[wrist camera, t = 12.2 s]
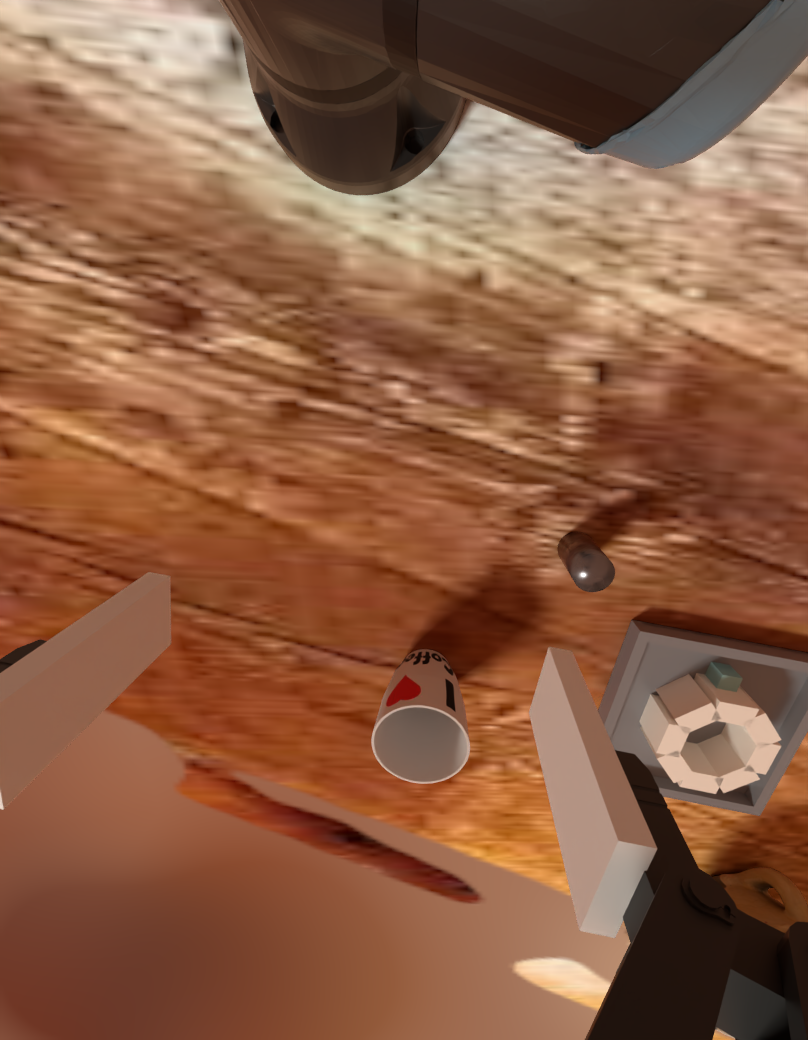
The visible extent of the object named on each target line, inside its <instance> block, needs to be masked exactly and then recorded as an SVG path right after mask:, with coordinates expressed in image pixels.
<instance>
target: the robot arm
mask: <svg viewBox="0 0 808 1040" xmlns="http://www.w3.org/2000/svg"><path fill="white" fill-rule="evenodd" d="M219 1H220V3H221V5H222V6H223V8H224V9H225V11H226V13H227V14H228V16H229V17H230V19H231V21H232V22H233V24H234V25H235V27H236V28H237V30H238V32H239V33H240V35H241V36H242V39H243V44H244V50H245V56H246V62H247V68H248V74H249V78H250V83H251V87H252V90H253V94H254V96H255V99H256V102H257V105H258V107H259V110H260V112H261V114H262V117H263V119H264V121H265V123H266V125H267V126H268V128H269V130H270V132H271V133H272V135H273V136H274V138H275V139H276V141H277V142H278V143H279V145H280V146H281V147H282V149H283V150H284V151H285V153H286V154H287V155H288V157H289V158H290V159H291V160H292V161H293V162H294V164H295V165H296V166H297V167H298V168H299V169H300V170H301V171H303V172H304V173H305V174H306V175H307V176H309V177H310V178H312V179H313V180H314V181H316V182H318V183H319V184H321V185H323V186H325V187H327V188H330V189H332V190H335V191H338V192H342V193H346V194H353V195H373V194H379V193H383V192H387V191H390V190H393V189H395V188H398V187H400V186H402V185H404V184H406V183H408V182H409V181H411V180H412V179H414V178H415V177H417V176H418V175H419V174H420V173H422V172H423V171H424V170H425V169H426V168H427V167H428V166H429V165H430V164H431V163H432V162H433V161H434V160H435V159H436V158H437V156H438V155H439V154H440V153H441V151H442V150H443V149H444V147H445V146H446V144H447V142H448V141H449V139H450V138H451V136H452V134H453V132H454V130H455V128H456V126H457V124H458V121H459V119H460V116H461V114H462V111H463V108H464V104H465V101H466V98H467V99H470V100H472V101H475V102H477V103H480V104H482V105H485V106H487V107H490V108H492V109H495V110H497V111H500V112H502V113H505V114H507V115H510V116H512V117H514V118H517V119H519V120H522V121H524V122H527V123H529V124H532V125H534V126H537V127H539V128H542V129H544V130H547V131H549V132H552V133H554V134H557V135H559V136H562V137H564V138H567V139H569V140H572V141H574V143H575V147H576V148H577V149H578V150H579V151H581V152H583V153H585V154H607V155H610V156H613V157H616V158H619V159H622V160H625V161H628V162H631V163H634V164H637V165H639V166H642V167H646V168H655V169H659V168H664V167H667V166H670V165H674V164H678V163H684V162H686V161H688V160H691V159H693V158H695V157H696V156H698V155H700V154H701V153H703V152H705V151H706V150H708V149H709V148H711V147H712V146H714V145H715V144H716V143H718V142H719V141H720V140H722V139H723V138H724V137H726V136H727V135H728V134H729V133H731V132H732V131H733V130H734V129H735V128H737V127H738V126H739V125H740V124H741V123H742V122H743V121H744V120H746V119H747V118H748V117H749V116H750V115H751V114H752V113H753V112H754V111H755V110H756V109H757V108H758V107H759V106H760V105H761V104H762V103H763V102H765V101H766V100H767V99H768V98H769V97H770V96H771V95H772V94H773V93H774V91H775V90H776V89H777V88H778V87H779V86H780V85H781V84H782V83H783V82H784V81H785V80H786V79H787V78H788V77H789V76H790V75H791V74H792V72H793V71H794V70H795V69H796V68H797V67H798V66H799V65H800V64H801V63H802V61H803V60H804V59H805V58H806V57H807V56H808V0H219ZM170 644H171V603H170V576H166V575H161V574H156V573H150V572H148V573H147V574H145V575H144V576H142V577H141V578H140V579H138V580H137V581H135V582H134V583H132V584H131V585H129V586H128V587H126V588H125V589H123V590H122V591H120V592H119V593H117V594H116V595H114V596H113V597H112V598H110V599H109V600H107V601H106V602H104V603H103V604H101V605H100V606H98V607H97V608H95V609H94V610H92V611H91V612H89V613H88V614H87V615H85V616H84V617H82V618H81V619H79V620H78V621H76V622H75V623H73V624H72V625H70V626H69V627H67V628H66V629H64V630H63V631H62V632H60V633H59V634H57V635H56V636H54V637H53V638H51V639H50V640H48V641H44V640H37V641H35V642H32V643H30V644H27V645H25V646H22V647H20V648H17V649H15V650H14V651H12V652H11V653H9V654H8V655H6V656H5V657H3V658H2V659H0V809H5V808H6V807H7V806H8V805H9V804H10V803H11V802H12V801H13V800H14V799H15V798H16V797H17V796H18V795H19V794H20V793H21V792H22V791H23V790H24V789H25V788H26V787H27V786H28V785H29V784H30V783H31V782H32V781H33V780H34V779H35V778H36V777H37V776H38V775H39V774H40V773H41V772H42V771H43V770H44V769H45V768H46V767H47V766H48V765H49V764H50V763H51V762H52V761H53V760H54V759H55V758H56V757H57V756H58V755H59V754H60V753H61V752H62V751H63V750H64V749H65V748H66V747H67V746H68V745H69V744H70V743H71V742H72V741H73V740H74V739H75V738H76V737H77V736H79V735H80V733H82V731H83V730H85V729H86V728H87V726H89V725H90V724H91V723H92V722H93V721H94V720H95V719H96V718H97V717H98V716H99V715H100V714H101V713H102V712H103V711H104V710H105V709H106V708H107V707H108V706H109V705H110V704H111V703H112V702H113V701H114V700H115V699H116V698H117V697H118V696H119V695H120V694H121V693H122V692H123V691H124V690H125V689H126V688H127V687H128V686H129V685H130V684H131V683H132V682H133V681H134V680H135V679H136V678H137V677H138V676H139V675H140V674H141V673H142V672H143V671H144V670H145V669H146V668H147V667H148V666H149V665H150V664H151V663H152V662H153V661H154V660H155V659H156V658H157V657H158V656H159V655H160V654H161V653H162V652H163V651H164V650H165V649H166V648H167V647H168V646H169V645H170ZM529 715H530V719H531V724H532V728H533V732H534V737H535V741H536V745H537V750H538V754H539V758H540V762H541V767H542V771H543V775H544V780H545V784H546V788H547V793H548V797H549V801H550V806H551V810H552V814H553V819H554V823H555V827H556V832H557V836H558V840H559V844H560V849H561V853H562V857H563V862H564V866H565V870H566V875H567V879H568V883H569V888H570V892H571V896H572V901H573V905H574V909H575V913H576V918H577V922H578V926H579V930H580V931H584V932H589V933H593V934H598V935H603V936H608V937H613V938H615V937H616V934H617V933H618V930H619V928H620V926H621V924H622V922H623V920H624V923H625V926H626V929H627V932H628V936H629V939H630V942H631V943H630V945H629V947H628V949H627V951H626V953H625V956H624V957H623V960H622V962H621V963H620V966H619V968H618V970H617V972H616V975H615V977H614V979H613V981H612V983H611V985H610V987H609V990H608V992H607V994H606V996H605V998H604V1000H603V1002H602V1004H601V1007H600V1009H599V1011H598V1013H597V1015H596V1017H595V1019H594V1021H593V1024H592V1026H591V1028H590V1030H589V1032H588V1034H587V1036H586V1039H585V1040H712V1039H713V1035H714V1031H715V1027H717V1028H719V1029H721V1030H722V1031H724V1032H726V1033H727V1034H729V1035H731V1036H732V1037H734V1038H735V1040H808V922H795V923H794V924H793V925H791V926H790V927H789V929H788V930H787V932H786V933H783V932H781V931H779V930H777V929H775V928H773V927H771V926H769V925H767V924H765V923H763V922H761V921H759V920H757V919H755V918H753V917H751V916H749V915H747V914H746V913H744V912H742V911H741V910H739V909H737V907H736V904H735V902H734V901H733V899H732V898H731V897H730V895H729V894H728V893H727V891H726V890H725V889H724V888H723V887H722V886H721V885H720V884H719V883H718V882H717V881H716V880H715V879H713V878H712V877H711V876H710V875H708V874H707V873H705V872H703V871H702V870H700V869H699V868H698V866H697V864H696V862H695V860H694V858H693V856H692V854H691V852H690V850H689V848H688V846H687V844H686V842H685V840H684V838H683V836H682V834H681V832H680V830H679V828H678V826H677V824H676V822H675V820H674V818H673V816H672V814H671V812H670V810H669V809H667V804H666V802H665V800H664V798H663V796H662V794H661V793H660V792H659V791H660V790H659V788H658V786H657V784H656V782H655V780H654V778H653V776H652V774H651V772H650V770H649V769H648V768H647V767H646V766H645V765H644V764H643V763H642V762H641V760H640V759H639V758H638V757H637V756H636V755H635V754H632V753H627V752H622V751H617V750H614V747H613V745H612V743H611V740H610V738H609V736H608V734H607V731H606V729H605V727H604V724H603V722H602V720H601V717H600V715H599V713H598V710H597V708H596V706H595V704H594V701H593V699H592V697H591V694H590V692H589V690H588V687H587V685H586V683H585V680H584V678H583V676H582V674H581V671H580V669H579V667H578V664H577V662H576V660H575V657H574V655H573V653H572V651H569V650H563V649H558V648H553V647H549V648H548V651H547V655H546V658H545V661H544V665H543V668H542V671H541V674H540V678H539V681H538V684H537V688H536V691H535V694H534V698H533V701H532V704H531V707H530V711H529Z"/></svg>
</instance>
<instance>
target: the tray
mask: <svg viewBox="0 0 808 1040" xmlns="http://www.w3.org/2000/svg"><path fill="white" fill-rule="evenodd" d="M710 662H716V663H721V664H726V665H730V666H731V667H732V668H733V669H734V670H735V671H736V672H737V673H738V674H739V675H740V676H741V677H742V678H743V680H742V682H741V684H740V686H741V687H742V688H743V689H744V690H745V691H746V693H747V694H748V695H749V696H750V697H751V698H752V699H753V700H754V701H755V702H756V703H757V705H758V706H759V707H760V708H761V709H762V710H763V711H764V712H765V713H766V715H767V717H768V718H769V720H770V722H771V723H772V725H773V727H774V728H775V730H776V732H777V733H778V735H779V737H780V738H781V740H780V741H778V743H779V744H780V745H781V748H780V750H779V751H778V753H777V755H776V757H775V759H774V761H773V762H772V764H771V766H770V768H769V770H768V771H767V773H766V775H765V774H760V773H756V774H757V775H758V777H759V780H757V781H754V782H752V783H749V784H747V785H744V786H741V787H739V788H736V789H734V790H731V791H728V792H726V793H723V792H722V790H721V789H720V787H719V789H718V791H717V793H716V794H713V793H708V792H703V791H698V790H693V789H688V788H683V787H679V785H678V783H677V782H676V783H673V781H672V780H671V778H670V777H669V776H668V774H667V773H666V771H665V770H664V768H663V767H662V765H661V764H660V763H659V761H658V760H657V758H656V756H655V754H654V752H653V751H652V749H651V747H650V745H649V743H648V741H647V739H646V737H645V736H644V734H643V732H642V730H641V728H640V727H641V726H642V725H641V724H640V722H639V721H640V719H641V716H642V714H643V711H644V709H645V707H646V704H647V702H648V699H649V697H650V694H652V695H657V696H659V694H658V693H657V691H656V690H655V689H658V688H660V687H662V686H664V685H666V684H668V683H671V682H673V681H675V680H677V679H679V678H681V677H683V676H686V675H688V674H689V675H690V676H691V677H692V678H693V680H694V678H695V675H696V673H699V674H706V671H707V669H708V667H709V665H710ZM598 713H599V715H600V717H601V720H602V722H603V724H604V727H605V729H606V731H607V734H608V736H609V738H610V740H611V743H612V745H613V747H614V750H617V751H622V752H627V753H632V754H635V755H636V756H637V757H638V758H639V759H640V760H641V762H642V763H643V764H644V765H645V766H646V767H647V768H648V769H649V770H650V772H651V774H652V776H653V778H654V780H655V782H656V784H657V786H658V788H659V790H660V791H659V792H660V793H661V794H662V796H663V797H668V798H673V799H678V800H683V801H688V802H693V803H698V804H703V805H708V806H713V807H718V808H723V809H728V810H733V811H738V812H743V813H748V814H753V815H758V816H760V815H761V813H762V811H763V809H764V808H765V806H766V804H767V802H768V801H769V799H770V797H771V795H772V793H773V792H774V790H775V788H776V786H777V785H778V783H779V781H780V779H781V778H782V776H783V774H784V772H785V771H786V769H787V767H788V765H789V763H790V762H791V760H792V758H793V756H794V755H795V753H796V751H797V749H798V748H799V746H800V744H801V742H802V740H803V739H804V737H805V735H806V733H807V732H808V653H806V652H801V651H795V650H790V649H785V648H779V647H774V646H769V645H763V644H758V643H753V642H747V641H742V640H737V639H732V638H726V637H721V636H716V635H710V634H705V633H700V632H694V631H689V630H684V629H678V628H673V627H668V626H662V625H657V624H652V623H646V622H641V621H636V620H631V623H630V626H629V628H628V631H627V634H626V637H625V639H624V642H623V645H622V647H621V650H620V653H619V655H618V658H617V661H616V664H615V666H614V669H613V672H612V674H611V677H610V680H609V682H608V685H607V688H606V691H605V693H604V696H603V699H602V701H601V704H600V707H599V709H598ZM725 725H726V722H720V721H715V722H713V723H710V724H708V725H706V726H703V727H701V728H699V729H696V730H694V731H692V732H690V733H689V735H688V737H687V739H686V741H685V742H690V743H695V744H698V743H700V742H702V741H705V740H707V739H710V738H712V737H714V736H717V735H719V734H721V733H722V731H723V729H724V727H725Z"/></svg>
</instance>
